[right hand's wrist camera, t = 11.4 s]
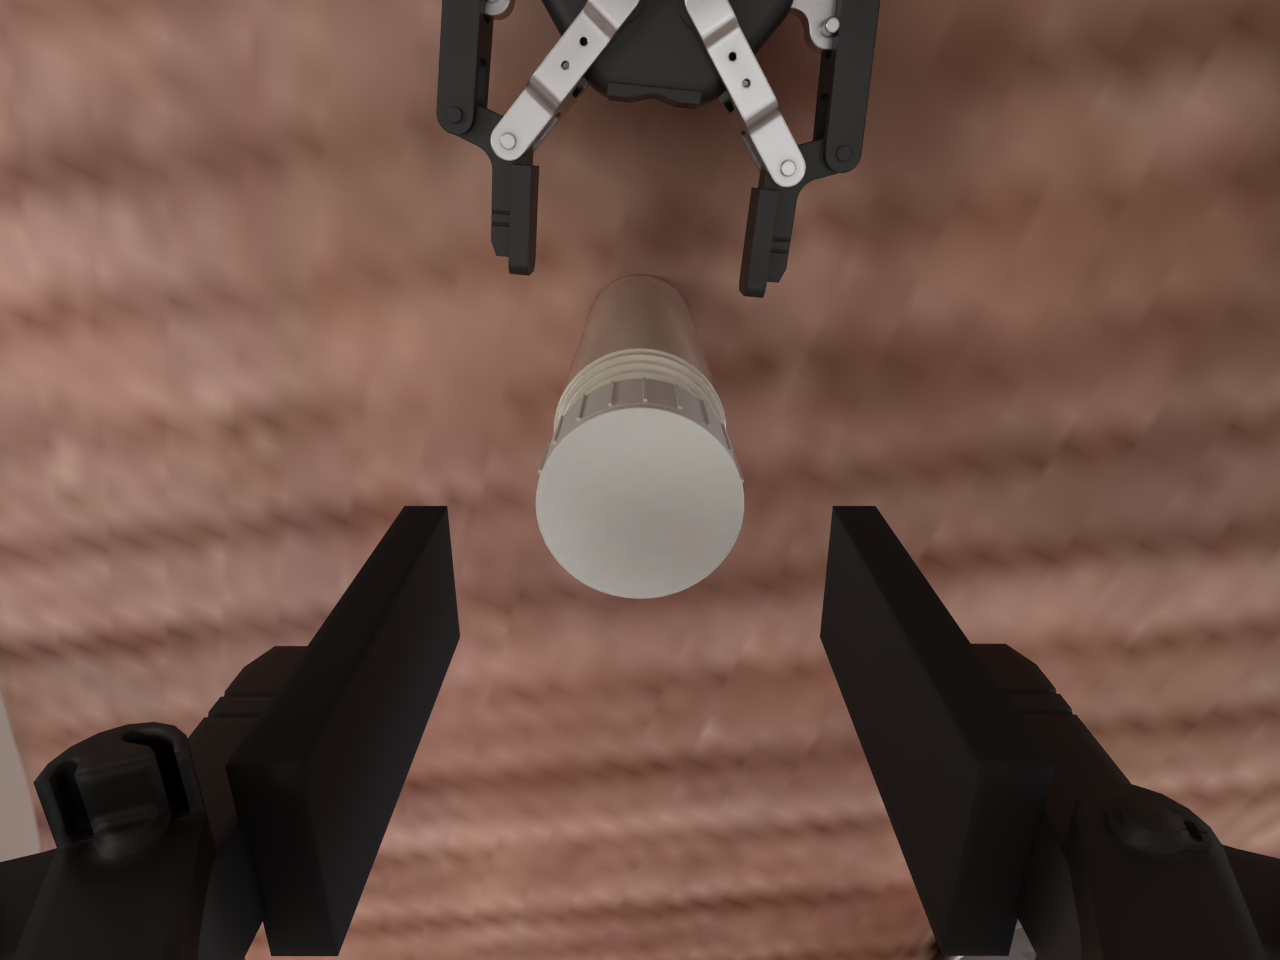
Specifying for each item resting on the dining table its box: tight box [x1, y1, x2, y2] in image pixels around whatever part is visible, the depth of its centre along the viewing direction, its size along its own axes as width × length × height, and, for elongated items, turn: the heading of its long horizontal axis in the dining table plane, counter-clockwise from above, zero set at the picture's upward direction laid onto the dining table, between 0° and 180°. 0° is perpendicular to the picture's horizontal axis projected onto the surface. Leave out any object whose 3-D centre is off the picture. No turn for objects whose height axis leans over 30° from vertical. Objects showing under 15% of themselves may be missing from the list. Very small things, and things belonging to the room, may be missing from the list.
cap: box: [536, 377, 744, 599], centre depth 18 cm, size 5×5×2 cm
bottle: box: [554, 275, 726, 432], centre depth 27 cm, size 5×5×20 cm
